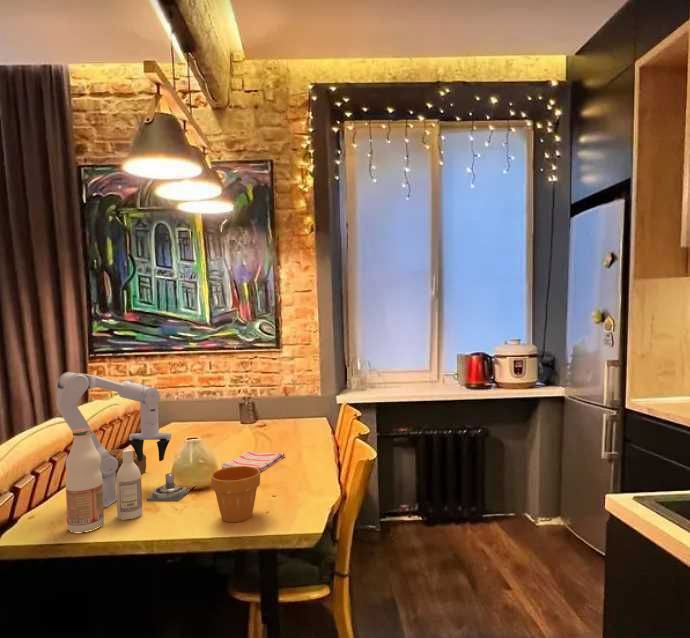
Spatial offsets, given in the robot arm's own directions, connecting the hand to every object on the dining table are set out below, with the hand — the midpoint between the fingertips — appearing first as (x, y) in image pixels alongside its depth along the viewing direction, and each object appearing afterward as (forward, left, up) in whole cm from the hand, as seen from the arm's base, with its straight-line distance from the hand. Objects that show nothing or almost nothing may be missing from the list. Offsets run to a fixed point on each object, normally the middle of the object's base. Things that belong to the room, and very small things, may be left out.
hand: (151, 460), depth 180 cm
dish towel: (+29, -29, -11) cm, 42 cm away
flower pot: (-24, -38, -10) cm, 46 cm away
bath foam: (-24, -5, -10) cm, 27 cm away
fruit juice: (-32, +4, -10) cm, 34 cm away
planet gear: (-6, -9, -9) cm, 14 cm away
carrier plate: (-4, -9, -10) cm, 14 cm away
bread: (+15, +20, -10) cm, 27 cm away
